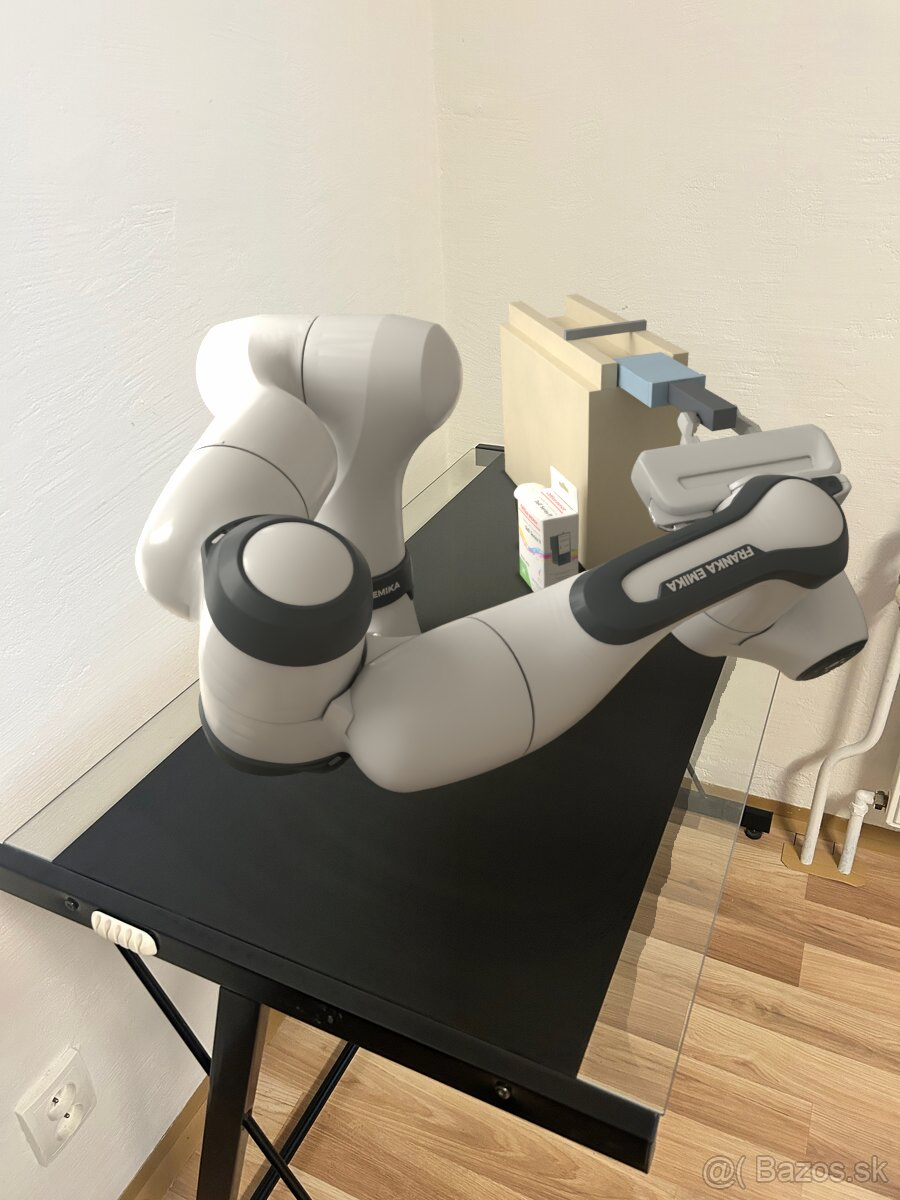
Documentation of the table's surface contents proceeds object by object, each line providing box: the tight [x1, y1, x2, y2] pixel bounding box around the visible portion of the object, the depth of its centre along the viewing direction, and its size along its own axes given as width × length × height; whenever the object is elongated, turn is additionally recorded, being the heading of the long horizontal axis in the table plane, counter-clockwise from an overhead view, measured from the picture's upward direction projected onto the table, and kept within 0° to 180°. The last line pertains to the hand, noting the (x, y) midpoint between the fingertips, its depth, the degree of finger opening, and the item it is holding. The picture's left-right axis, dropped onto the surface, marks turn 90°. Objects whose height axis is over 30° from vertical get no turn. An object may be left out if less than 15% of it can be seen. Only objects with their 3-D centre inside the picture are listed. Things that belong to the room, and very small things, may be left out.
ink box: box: [518, 466, 579, 592], centre depth 109 cm, size 9×5×15 cm, turn 17°
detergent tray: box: [613, 352, 738, 432], centre depth 97 cm, size 6×21×3 cm, turn 14°
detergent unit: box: [499, 293, 695, 571], centre depth 125 cm, size 14×36×28 cm, turn 14°
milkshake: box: [513, 483, 552, 530], centre depth 120 cm, size 4×5×10 cm
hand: (705, 412), depth 91 cm, fingers open, 3 cm apart
